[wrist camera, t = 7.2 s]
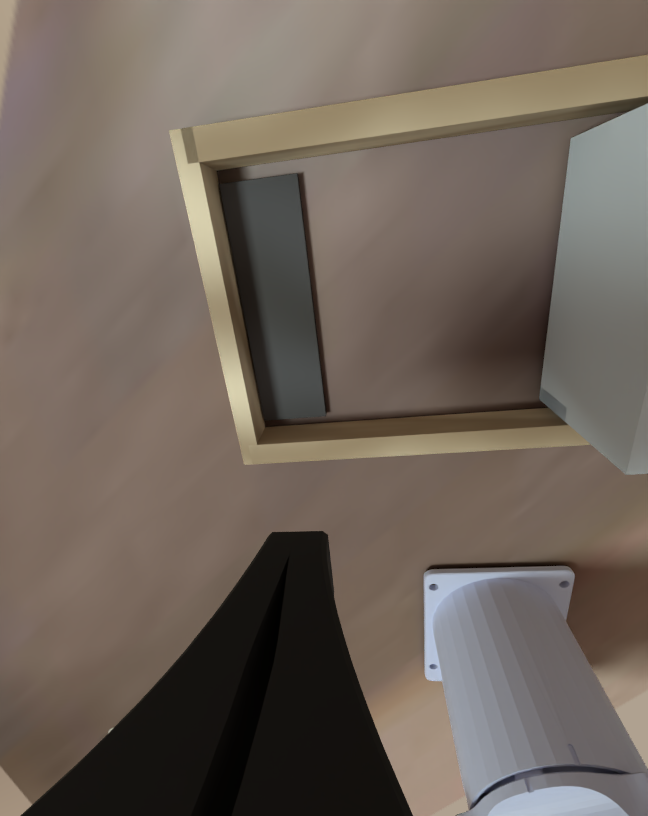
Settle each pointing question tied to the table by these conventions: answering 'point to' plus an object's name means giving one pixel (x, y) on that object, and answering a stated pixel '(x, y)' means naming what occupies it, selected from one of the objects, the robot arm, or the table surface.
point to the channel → (289, 269)
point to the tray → (603, 294)
